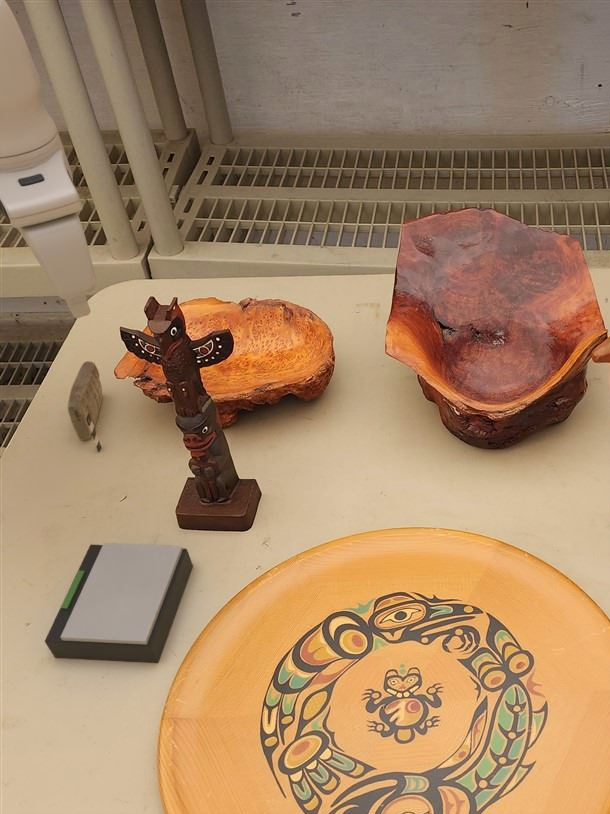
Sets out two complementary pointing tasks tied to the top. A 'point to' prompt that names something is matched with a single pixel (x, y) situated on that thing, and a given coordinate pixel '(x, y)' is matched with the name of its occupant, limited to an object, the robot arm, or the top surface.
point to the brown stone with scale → (85, 402)
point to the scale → (121, 603)
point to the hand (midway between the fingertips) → (68, 292)
